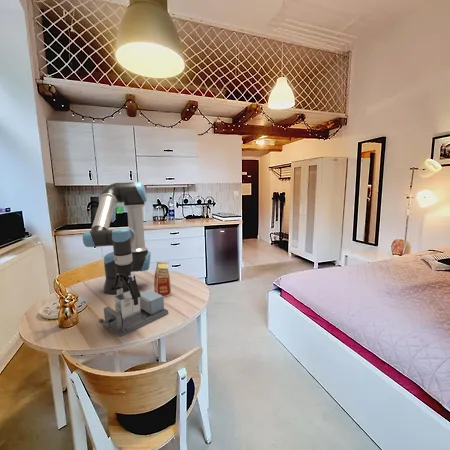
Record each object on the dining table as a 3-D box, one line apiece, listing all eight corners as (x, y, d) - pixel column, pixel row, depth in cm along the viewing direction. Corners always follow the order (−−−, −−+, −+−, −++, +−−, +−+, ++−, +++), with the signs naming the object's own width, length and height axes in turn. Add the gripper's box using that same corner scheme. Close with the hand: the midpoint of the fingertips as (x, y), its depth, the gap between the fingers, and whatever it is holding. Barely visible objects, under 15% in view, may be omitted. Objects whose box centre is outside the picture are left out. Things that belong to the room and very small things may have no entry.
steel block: (116, 320, 119) (114, 296, 116) (134, 313, 125) (132, 290, 123) (122, 325, 115) (120, 300, 113) (141, 317, 121) (139, 293, 119)
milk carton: (157, 298, 144) (155, 264, 140) (153, 292, 152) (151, 260, 148) (173, 295, 148) (171, 261, 144) (169, 289, 156) (167, 257, 152)
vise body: (95, 327, 116) (93, 309, 115) (150, 303, 138) (149, 289, 136) (111, 340, 106) (109, 322, 104) (168, 313, 127) (167, 297, 126)
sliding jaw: (137, 307, 130) (136, 294, 128) (150, 302, 135) (149, 289, 134) (151, 315, 122) (150, 301, 121) (164, 309, 127) (163, 296, 126)
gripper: (103, 259, 121) (107, 301, 124) (130, 271, 104) (134, 318, 108) (118, 255, 126) (122, 295, 130) (146, 266, 110) (150, 311, 114)
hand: (128, 306), depth 119 cm, fingers open, 13 cm apart
